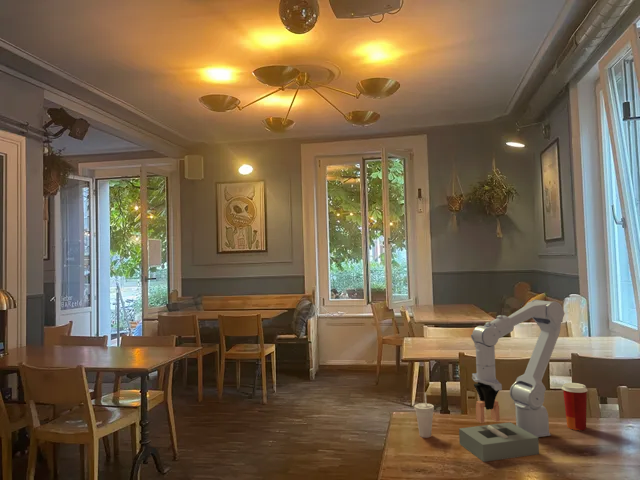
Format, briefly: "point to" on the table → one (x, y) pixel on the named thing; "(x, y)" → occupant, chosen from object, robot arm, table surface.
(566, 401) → the paper cup
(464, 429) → the grey panel with window
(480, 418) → the orange arch block
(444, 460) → the table surface
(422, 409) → the smoothie
